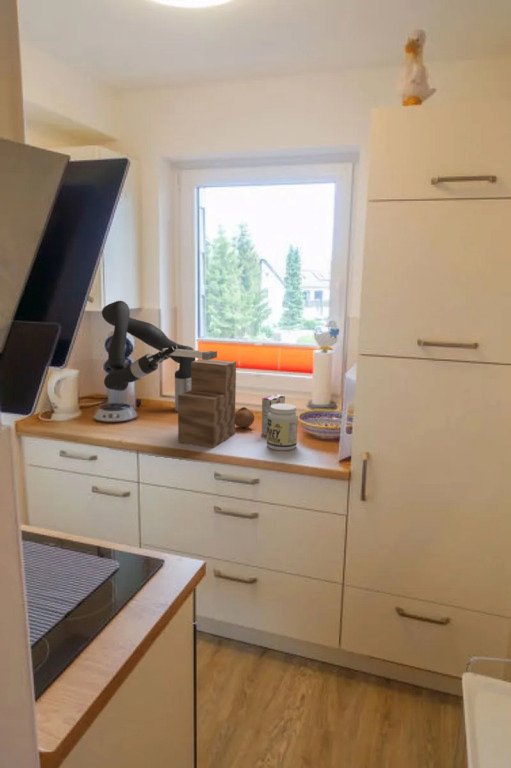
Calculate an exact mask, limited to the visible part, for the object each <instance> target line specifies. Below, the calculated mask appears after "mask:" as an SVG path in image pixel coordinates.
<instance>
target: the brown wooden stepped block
mask: <svg viewBox="0 0 511 768" xmlns="http://www.w3.org/2000/svg"><path fill="white" fill-rule="evenodd" d="M236 382H237V361H233V360H232V361H230V360H219V359H210V360H202V358H199V359H198V360H197V359H196V360H195V361H193V362H191V390H190V391H188V392H185V393H182V394H180V395H178V412H177V421H178V422H177V423H178V426H177V427H178V428H177V429H178V430H177V432H178V436H177V437H178V438H177V439H178V440H177V441H178V442H179V443H178V444H184V443H186V444H185V445H190V444H192V446H196V445H197V447H203V448H210V449H214V448H216V447H218V446H219V445H220V444H223V443H224V442H225V441H226V440H228V439H229V438H232V437H233V436H234V435H235V434H236V425H235V412H236V393H237V391H236V386H237V385H236V384H237V383H236Z"/></svg>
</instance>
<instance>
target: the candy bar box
mask: <svg viewBox="0 0 511 768" xmlns="http://www.w3.org/2000/svg"><path fill="white" fill-rule="evenodd" d="M285 397H286V395H284V394H280V393H276V394H275V393H274V394H273V395H269V396H266V397H263V398H261V400H262V401H261V434H262V435H264V436H267V424H268V414H269V412H270V406H271V405H273V404H286V403H285V402H286V401H285V399H286V398H285Z"/></svg>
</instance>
